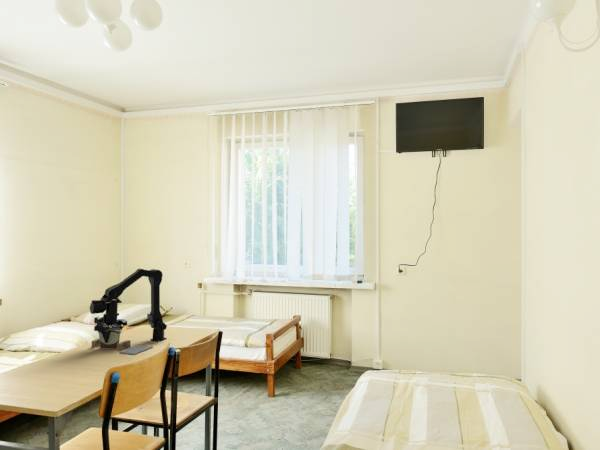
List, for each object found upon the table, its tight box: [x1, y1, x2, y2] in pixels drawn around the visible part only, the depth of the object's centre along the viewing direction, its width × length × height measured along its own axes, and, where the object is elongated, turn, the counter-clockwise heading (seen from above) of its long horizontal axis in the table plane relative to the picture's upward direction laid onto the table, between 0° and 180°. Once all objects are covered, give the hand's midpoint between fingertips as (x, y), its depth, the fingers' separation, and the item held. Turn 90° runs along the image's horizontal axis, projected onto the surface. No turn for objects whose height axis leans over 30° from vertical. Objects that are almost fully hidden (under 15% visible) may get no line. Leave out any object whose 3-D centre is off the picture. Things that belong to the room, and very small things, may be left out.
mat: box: [119, 344, 154, 356], centre depth 234 cm, size 15×9×1 cm, turn 162°
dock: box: [91, 338, 132, 352], centre depth 239 cm, size 8×18×4 cm, turn 72°
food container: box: [97, 327, 123, 350], centre depth 239 cm, size 12×6×10 cm, turn 83°
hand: (110, 341), depth 239 cm, fingers closed on food container, 6 cm apart
